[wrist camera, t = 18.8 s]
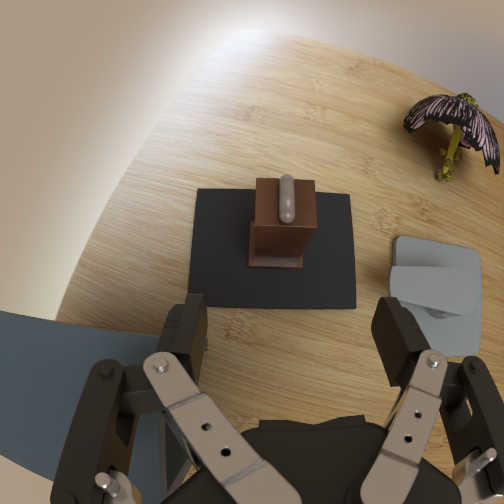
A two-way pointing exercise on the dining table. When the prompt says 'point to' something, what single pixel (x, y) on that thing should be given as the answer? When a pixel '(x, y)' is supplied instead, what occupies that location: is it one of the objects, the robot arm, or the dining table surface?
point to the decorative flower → (457, 128)
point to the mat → (266, 279)
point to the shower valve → (440, 292)
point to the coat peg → (282, 222)
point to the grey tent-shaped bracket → (75, 398)
